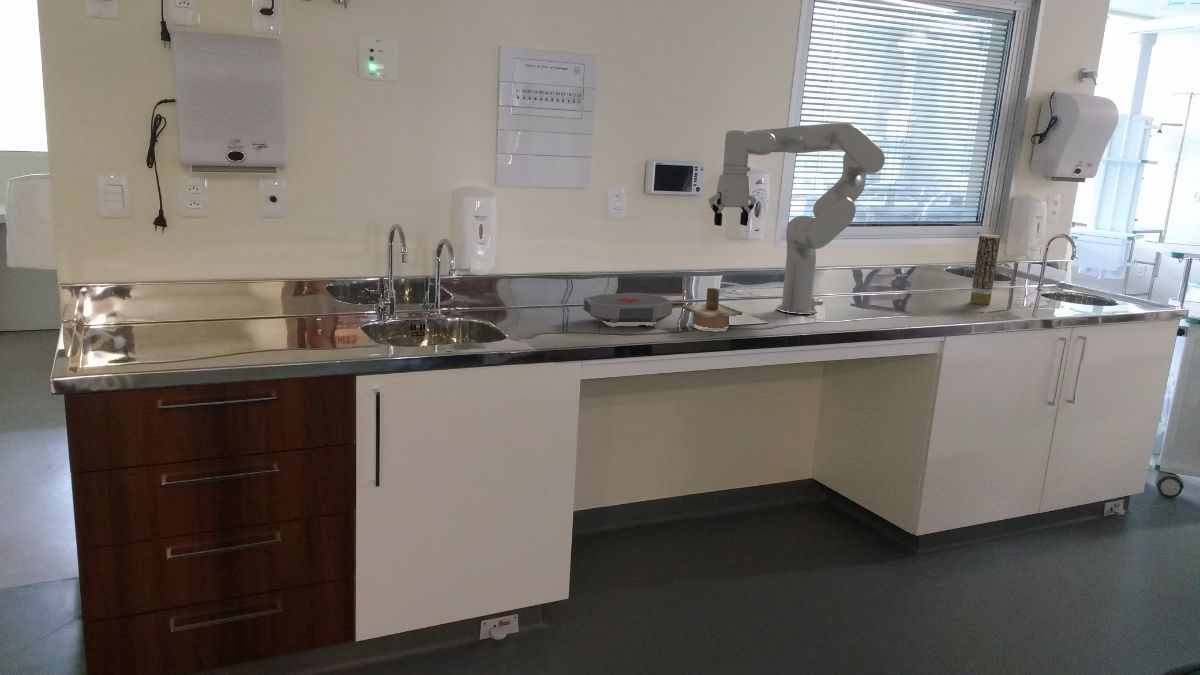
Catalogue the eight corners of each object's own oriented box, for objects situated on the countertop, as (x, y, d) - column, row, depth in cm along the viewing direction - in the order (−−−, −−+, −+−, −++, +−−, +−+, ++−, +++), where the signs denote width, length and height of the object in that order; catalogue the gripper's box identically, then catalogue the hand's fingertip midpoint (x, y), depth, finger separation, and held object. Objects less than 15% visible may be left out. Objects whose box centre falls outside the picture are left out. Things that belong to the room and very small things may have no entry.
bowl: (715, 323, 263) (716, 307, 262) (733, 330, 254) (735, 314, 253) (687, 325, 259) (688, 309, 258) (704, 332, 250) (706, 316, 249)
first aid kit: (594, 331, 247) (675, 329, 253) (595, 306, 245) (677, 304, 252) (579, 318, 263) (656, 316, 270) (580, 294, 261) (657, 293, 268)
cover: (718, 306, 264) (720, 284, 262) (742, 315, 252) (744, 292, 251) (681, 308, 258) (683, 286, 257) (704, 317, 247) (706, 294, 245)
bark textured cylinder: (993, 305, 311) (1003, 236, 305) (974, 304, 311) (984, 236, 305) (985, 302, 318) (995, 234, 312) (967, 301, 318) (976, 233, 312)
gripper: (751, 170, 276) (746, 223, 280) (705, 169, 269) (701, 224, 273) (764, 172, 270) (760, 226, 274) (717, 171, 263) (713, 227, 267)
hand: (730, 225), depth 274 cm, fingers open, 9 cm apart
